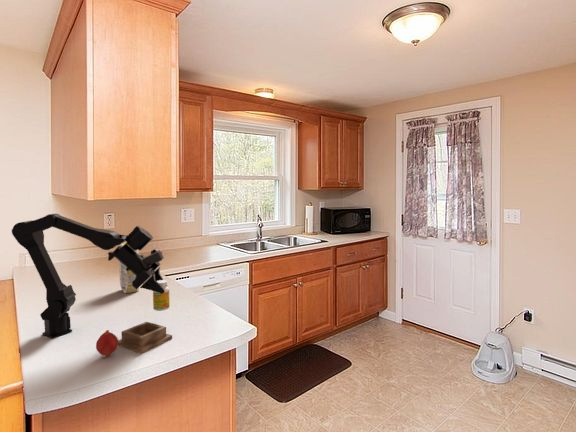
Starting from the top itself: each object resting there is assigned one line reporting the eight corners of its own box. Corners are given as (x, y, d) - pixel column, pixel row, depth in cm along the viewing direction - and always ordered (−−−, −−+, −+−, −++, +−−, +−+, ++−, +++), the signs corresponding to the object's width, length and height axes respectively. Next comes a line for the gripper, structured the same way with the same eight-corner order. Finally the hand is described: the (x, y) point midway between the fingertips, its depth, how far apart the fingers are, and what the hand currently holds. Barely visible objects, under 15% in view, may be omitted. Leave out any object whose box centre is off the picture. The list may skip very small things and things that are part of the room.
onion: (91, 359, 101) (90, 332, 101) (108, 350, 107) (107, 324, 106) (107, 362, 99) (105, 335, 99) (123, 353, 105) (122, 327, 104)
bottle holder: (141, 353, 105) (140, 340, 105) (115, 344, 111) (115, 332, 110) (172, 338, 115) (171, 326, 115) (147, 330, 121) (146, 319, 121)
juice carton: (141, 291, 166) (139, 241, 164) (122, 294, 162) (120, 242, 160) (136, 286, 174) (135, 238, 172) (119, 289, 169) (117, 240, 167)
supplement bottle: (152, 311, 121) (152, 284, 120) (154, 306, 126) (153, 280, 125) (169, 310, 122) (168, 283, 122) (169, 305, 128) (169, 279, 127)
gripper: (141, 247, 112) (178, 280, 115) (154, 239, 131) (185, 267, 134) (116, 272, 112) (153, 305, 115) (132, 260, 130) (163, 288, 133)
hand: (165, 290), depth 124 cm, fingers closed on supplement bottle, 5 cm apart
